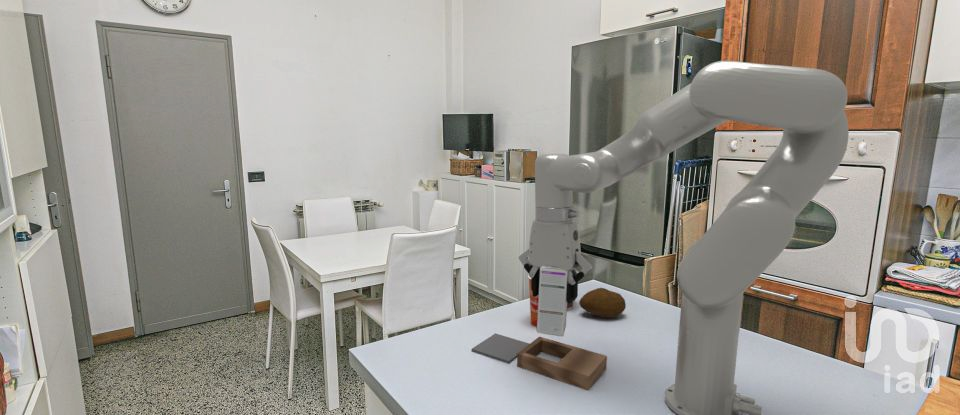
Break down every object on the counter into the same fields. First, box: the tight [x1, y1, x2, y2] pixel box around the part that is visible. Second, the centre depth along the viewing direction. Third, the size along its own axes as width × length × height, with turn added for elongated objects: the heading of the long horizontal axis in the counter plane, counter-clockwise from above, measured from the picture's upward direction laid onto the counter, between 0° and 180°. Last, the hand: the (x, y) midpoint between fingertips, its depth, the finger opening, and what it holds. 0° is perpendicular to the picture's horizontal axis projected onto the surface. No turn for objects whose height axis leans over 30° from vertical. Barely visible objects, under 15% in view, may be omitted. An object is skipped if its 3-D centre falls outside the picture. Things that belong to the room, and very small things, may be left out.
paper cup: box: [527, 274, 539, 328], centre depth 120 cm, size 8×8×14 cm
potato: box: [578, 287, 627, 319], centre depth 126 cm, size 8×12×8 cm, turn 96°
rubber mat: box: [471, 332, 531, 364], centre depth 107 cm, size 10×10×1 cm
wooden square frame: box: [516, 336, 608, 391], centre depth 98 cm, size 16×10×3 cm, turn 55°
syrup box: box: [536, 266, 569, 337], centre depth 97 cm, size 6×6×14 cm
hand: (554, 297), depth 97 cm, fingers closed on syrup box, 7 cm apart
